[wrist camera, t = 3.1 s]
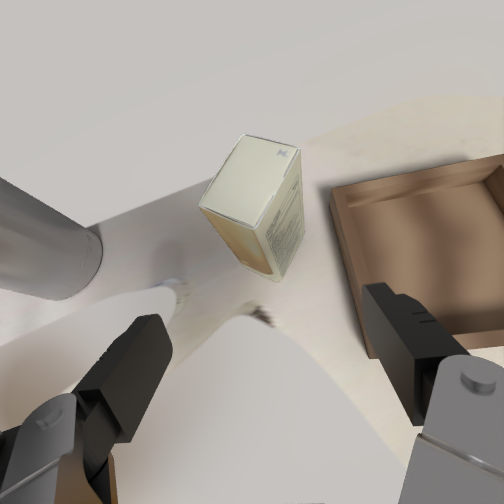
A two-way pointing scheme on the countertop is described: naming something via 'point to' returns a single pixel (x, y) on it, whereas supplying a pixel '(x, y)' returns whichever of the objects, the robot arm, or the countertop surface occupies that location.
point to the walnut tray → (431, 244)
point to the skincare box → (258, 204)
